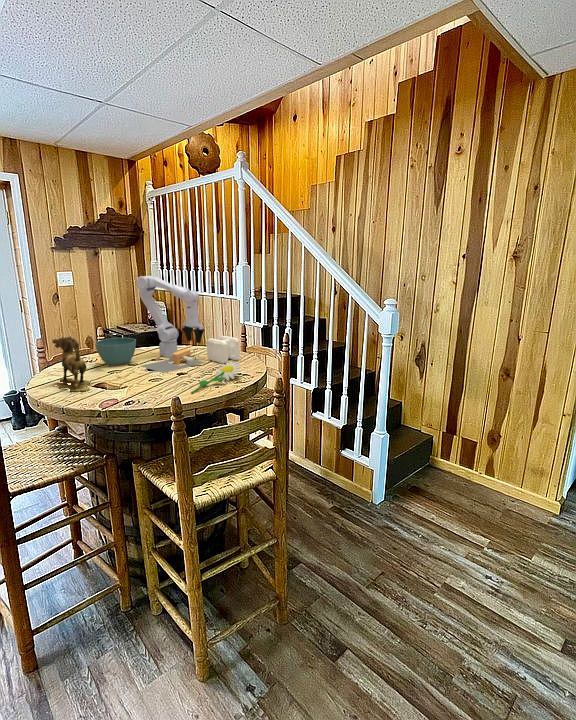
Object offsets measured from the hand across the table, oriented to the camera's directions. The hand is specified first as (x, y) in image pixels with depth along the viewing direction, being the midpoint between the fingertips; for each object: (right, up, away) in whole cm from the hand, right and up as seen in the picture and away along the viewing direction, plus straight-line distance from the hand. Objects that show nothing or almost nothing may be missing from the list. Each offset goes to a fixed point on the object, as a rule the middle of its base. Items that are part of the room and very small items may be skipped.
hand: (194, 341), depth 208 cm
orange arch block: (-4, -11, -8) cm, 14 cm away
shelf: (-7, -13, -12) cm, 19 cm away
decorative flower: (+17, -19, -37) cm, 46 cm away
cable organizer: (+15, -10, 0) cm, 18 cm away
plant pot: (-35, -12, -7) cm, 38 cm away
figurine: (-41, -20, -39) cm, 60 cm away
